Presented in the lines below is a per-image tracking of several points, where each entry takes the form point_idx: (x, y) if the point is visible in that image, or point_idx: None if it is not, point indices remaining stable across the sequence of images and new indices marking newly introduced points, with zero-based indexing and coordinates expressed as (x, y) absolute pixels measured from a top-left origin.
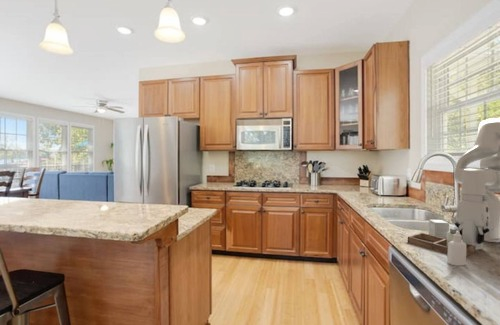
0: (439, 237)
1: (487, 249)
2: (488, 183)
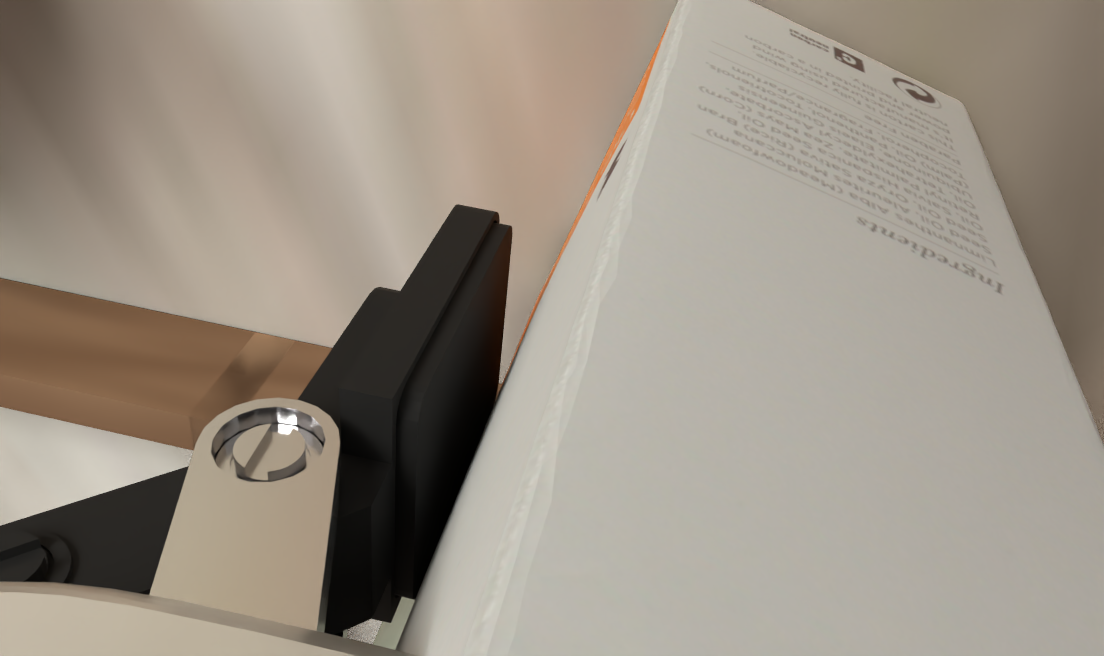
0: (82, 413)
1: (1094, 6)
2: None
